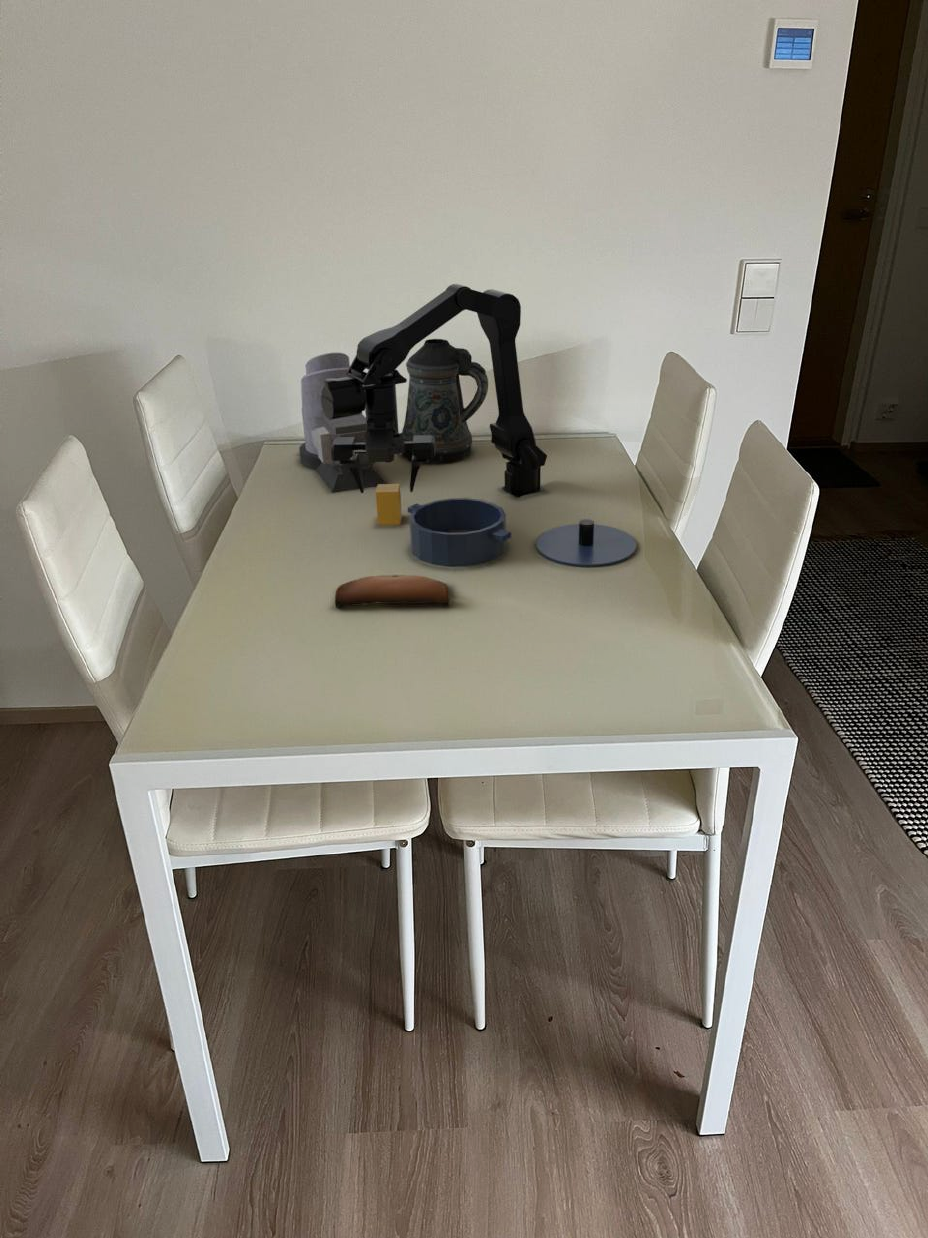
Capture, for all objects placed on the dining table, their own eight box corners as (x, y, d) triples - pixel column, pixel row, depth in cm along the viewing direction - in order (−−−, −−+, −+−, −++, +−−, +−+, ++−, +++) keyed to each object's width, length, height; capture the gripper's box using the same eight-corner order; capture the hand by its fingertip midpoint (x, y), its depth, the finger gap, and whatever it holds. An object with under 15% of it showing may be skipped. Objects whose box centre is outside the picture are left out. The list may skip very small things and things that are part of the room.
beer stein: (394, 445, 224) (387, 335, 212) (475, 437, 227) (472, 329, 215) (407, 468, 209) (400, 352, 197) (493, 459, 213) (492, 344, 201)
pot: (443, 520, 183) (442, 488, 180) (536, 549, 170) (536, 515, 167) (381, 549, 172) (379, 515, 169) (475, 582, 159) (474, 546, 156)
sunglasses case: (450, 581, 158) (448, 558, 152) (450, 618, 155) (448, 596, 149) (341, 584, 158) (335, 561, 153) (338, 621, 155) (332, 599, 149)
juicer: (293, 451, 222) (280, 343, 210) (360, 442, 227) (351, 336, 215) (321, 493, 197) (309, 374, 185) (396, 482, 202) (388, 365, 190)
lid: (573, 521, 180) (574, 496, 178) (655, 544, 170) (657, 518, 168) (515, 552, 169) (515, 526, 166) (599, 579, 158) (600, 551, 156)
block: (402, 518, 184) (399, 483, 181) (400, 526, 181) (398, 491, 177) (380, 518, 184) (377, 484, 181) (378, 527, 181) (375, 492, 177)
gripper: (322, 424, 165) (331, 509, 173) (431, 421, 165) (435, 507, 172) (331, 406, 175) (339, 487, 183) (433, 403, 175) (437, 485, 182)
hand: (387, 492), depth 180 cm, fingers open, 9 cm apart
